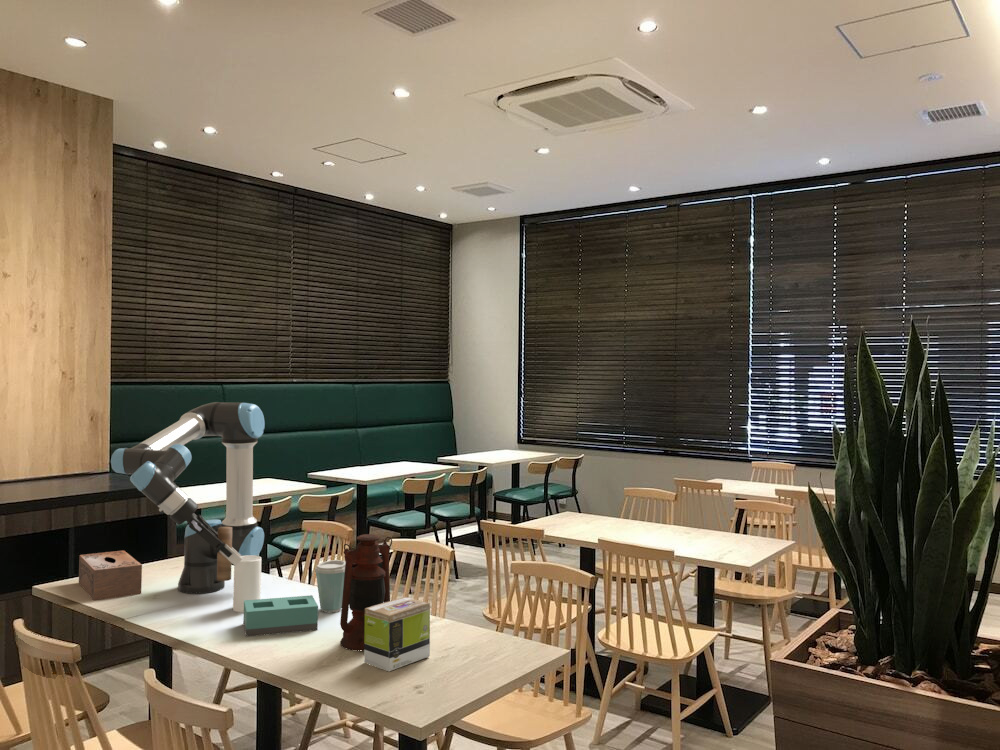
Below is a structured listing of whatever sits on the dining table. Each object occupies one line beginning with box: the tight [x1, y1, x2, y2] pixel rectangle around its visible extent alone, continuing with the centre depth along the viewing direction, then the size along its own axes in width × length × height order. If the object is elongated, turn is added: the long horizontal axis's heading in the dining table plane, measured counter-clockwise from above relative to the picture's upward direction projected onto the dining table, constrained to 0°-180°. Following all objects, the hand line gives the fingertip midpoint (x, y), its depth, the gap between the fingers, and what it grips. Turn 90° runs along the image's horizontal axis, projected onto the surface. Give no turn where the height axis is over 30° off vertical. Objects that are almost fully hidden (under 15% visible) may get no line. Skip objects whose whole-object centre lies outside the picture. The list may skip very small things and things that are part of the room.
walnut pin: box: [217, 527, 233, 582], centre depth 229 cm, size 4×4×15 cm
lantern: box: [339, 533, 393, 652], centre depth 220 cm, size 17×14×30 cm
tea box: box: [363, 596, 431, 672], centre depth 207 cm, size 15×10×15 cm
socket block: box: [242, 594, 319, 637], centre depth 232 cm, size 12×20×7 cm, turn 112°
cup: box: [232, 555, 262, 613], centre depth 249 cm, size 8×8×16 cm
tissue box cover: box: [78, 550, 143, 601], centre depth 268 cm, size 26×14×10 cm, turn 38°
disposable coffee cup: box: [314, 559, 346, 613], centre depth 250 cm, size 11×11×15 cm
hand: (238, 560), depth 230 cm, fingers closed on walnut pin, 4 cm apart
